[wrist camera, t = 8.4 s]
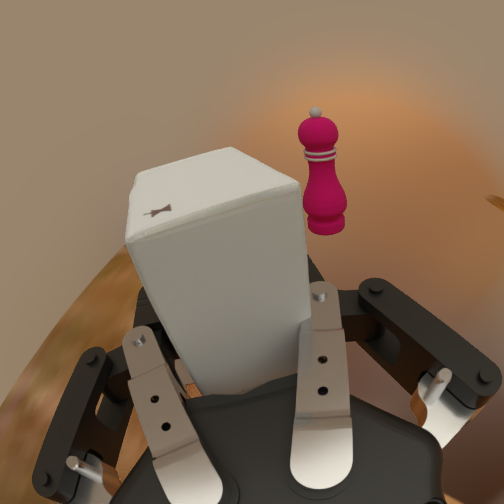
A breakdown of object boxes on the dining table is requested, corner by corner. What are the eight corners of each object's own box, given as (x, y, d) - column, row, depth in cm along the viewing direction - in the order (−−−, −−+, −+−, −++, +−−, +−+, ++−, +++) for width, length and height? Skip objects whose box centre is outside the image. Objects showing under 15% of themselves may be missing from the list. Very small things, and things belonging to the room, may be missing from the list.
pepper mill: (301, 220, 52) (285, 107, 41) (339, 213, 51) (330, 102, 40) (310, 240, 46) (295, 112, 35) (353, 233, 45) (346, 107, 34)
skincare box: (317, 419, 13) (308, 181, 6) (237, 450, 12) (115, 241, 5) (272, 341, 18) (233, 142, 11) (207, 364, 17) (130, 173, 10)
